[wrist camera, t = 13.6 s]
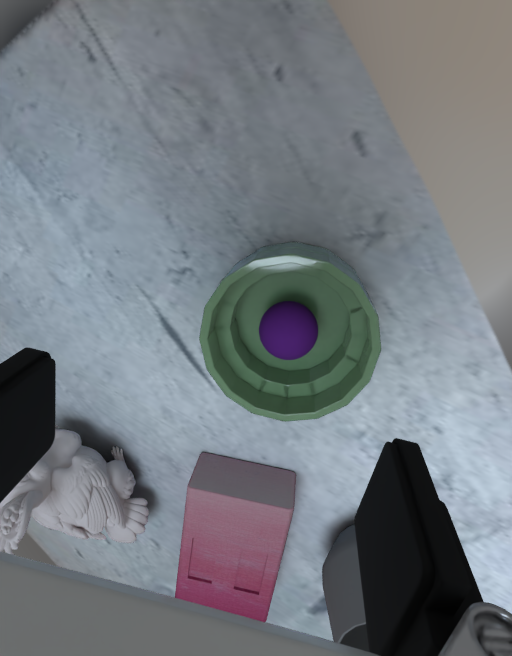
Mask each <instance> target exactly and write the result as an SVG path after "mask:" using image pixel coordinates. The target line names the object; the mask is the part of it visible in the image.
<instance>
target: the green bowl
mask: <svg viewBox="0 0 512 656" xmlns="http://www.w3.org/2000/svg"><path fill="white" fill-rule="evenodd" d="M283 301H294V302H298V303H301V304H303V305H304V306H306V307H307V308H308V309H310V311H311V312H312V313H313V314H314V316H315V318H316V320H317V324H318V337H317V340H316V343H315V345H314V347H313V348H312V349H311V350H310V351H309V352H308V353H307V354H306V355H304V356H303V357H301V358H298V359H294V360H283V359H279V358H277V357H275V356H273V355H271V354H270V353H269V352H268V351H267V350H266V349H265V348H264V346H263V344H262V342H261V340H260V336H259V325H260V321H261V318H262V316H263V315H264V313H265V312H266V311H267V310H268V309H269V308H270V307H271V306H273V305H274V304H277V303H279V302H283ZM199 338H200V339H199V340H200V344H201V348H202V352H203V356H204V360H205V364H206V368H207V370H208V372H209V373H210V375H211V376H212V377H213V379H214V380H215V381H216V383H217V384H218V386H219V387H220V388H221V390H222V391H223V392H224V394H225V395H226V396H227V397H229V398H230V399H232V400H233V401H235V402H236V403H238V404H239V405H241V406H242V407H244V408H245V409H247V410H248V411H250V412H251V413H253V414H257V415H261V416H265V417H268V418H272V419H276V420H280V421H297V420H308V419H317V418H320V417H322V416H324V415H326V414H329V413H331V412H333V411H335V410H337V409H339V408H342V407H344V406H346V405H348V404H349V403H350V402H351V401H352V400H353V398H354V397H355V396H356V395H357V394H358V393H359V392H360V391H361V390H362V389H363V388H364V387H365V386H366V385H367V384H368V383H369V381H370V379H371V377H372V374H373V371H374V368H375V365H376V363H377V360H378V357H379V354H380V352H381V342H380V331H379V320H378V315H377V312H376V310H375V308H374V306H373V304H372V301H371V299H370V297H369V295H368V293H367V291H366V290H365V288H364V286H363V284H362V283H361V281H360V279H359V277H358V276H357V274H356V272H355V270H354V269H353V268H352V267H351V266H350V265H348V264H347V263H346V262H344V261H343V260H341V259H340V258H339V257H337V256H336V255H335V254H333V253H332V252H330V251H329V250H328V249H325V248H321V247H316V246H312V245H308V244H304V243H299V242H288V243H282V244H276V245H270V246H264V247H262V248H260V249H258V250H257V251H255V252H254V253H252V254H250V255H249V256H247V257H246V258H244V259H243V260H241V261H239V262H238V263H237V264H236V265H235V266H234V267H233V268H232V269H231V271H230V272H229V273H228V274H227V275H226V276H225V278H224V279H223V280H222V282H221V283H220V285H219V286H218V288H217V289H216V291H215V292H214V293H213V295H212V296H211V298H210V299H209V301H208V302H207V304H206V305H205V308H204V313H203V319H202V325H201V331H200V337H199Z"/></svg>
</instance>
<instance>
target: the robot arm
mask: <svg viewBox="0 0 512 656" xmlns="http://www.w3.org/2000/svg"><path fill="white" fill-rule="evenodd" d="M54 439H55V361H54V359H51V356H50V354H49V353H48V352H44V351H40V350H36V349H32V348H24V349H23V350H21V351H19V352H18V353H16V354H15V355H13V356H12V357H10V358H9V359H7V360H6V361H4V362H3V363H1V364H0V503H1V502H2V501H3V500H4V498H5V497H6V496H7V495H8V494H9V493H10V492H11V491H12V490H13V489H14V487H15V486H16V485H17V484H18V483H19V482H20V481H21V480H22V479H23V478H24V476H25V475H26V474H27V473H28V472H29V471H30V470H31V469H32V468H33V467H34V466H35V464H36V463H37V462H38V461H39V460H40V459H41V458H42V457H43V456H44V455H45V453H46V452H47V451H48V450H49V449H50V448H51V446H52V444H53V442H54ZM355 533H356V542H357V550H358V559H359V567H360V576H361V585H362V593H363V602H364V610H365V619H366V627H367V636H368V645H369V652H367V651H363V650H360V649H357V648H353V647H350V646H346V645H343V644H340V643H336V642H333V641H329V640H326V639H323V638H319V637H316V636H312V635H309V634H306V633H302V632H298V631H295V630H291V629H288V628H284V627H280V626H277V625H273V624H269V623H266V622H262V621H258V620H255V619H251V618H247V617H244V616H240V615H236V614H233V613H229V612H226V611H222V610H218V609H215V608H211V607H207V606H204V605H200V604H196V603H193V602H189V601H185V600H182V599H178V598H174V597H170V596H167V595H163V594H159V593H156V592H152V591H148V590H144V589H141V588H137V587H133V586H129V585H126V584H122V583H118V582H114V581H111V580H107V579H103V578H99V577H96V576H92V575H88V574H84V573H81V572H77V571H73V570H69V569H66V568H62V567H58V566H54V565H50V564H46V563H43V562H39V561H35V560H31V559H27V558H23V557H20V556H16V555H12V554H8V553H5V552H1V551H0V656H512V614H511V613H509V612H508V611H506V610H505V609H503V608H501V607H498V606H496V605H494V604H491V603H485V602H483V599H482V597H481V594H480V592H479V589H478V586H477V584H476V581H475V579H474V576H473V574H472V571H471V568H470V566H469V563H468V561H467V558H466V556H465V553H464V550H463V548H462V545H461V543H460V540H459V538H458V535H457V532H456V530H455V527H454V525H453V522H452V520H451V517H450V514H449V512H448V509H447V507H446V506H445V504H444V503H443V502H442V501H440V500H439V498H438V495H437V492H436V490H435V487H434V484H433V482H432V479H431V476H430V474H429V471H428V468H427V466H426V463H425V460H424V458H423V455H422V452H421V450H420V447H419V445H418V444H417V443H414V442H410V441H406V440H402V439H397V438H396V439H394V440H393V442H392V443H391V442H386V443H385V445H384V447H383V450H382V452H381V455H380V457H379V460H378V462H377V464H376V467H375V469H374V472H373V474H372V476H371V479H370V481H369V484H368V486H367V489H366V491H365V493H364V496H363V498H362V501H361V503H360V506H359V508H358V510H357V513H356V517H355Z"/></svg>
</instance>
